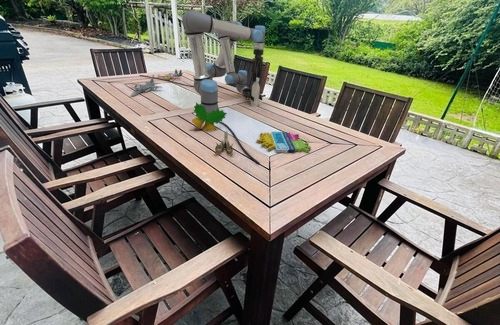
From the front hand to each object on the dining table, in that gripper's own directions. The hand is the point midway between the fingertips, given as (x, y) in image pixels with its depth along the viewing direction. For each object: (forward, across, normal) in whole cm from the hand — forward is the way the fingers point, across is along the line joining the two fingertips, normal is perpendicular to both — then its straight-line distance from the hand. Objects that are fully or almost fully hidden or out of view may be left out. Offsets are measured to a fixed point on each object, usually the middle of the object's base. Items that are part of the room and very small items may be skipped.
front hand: (256, 80), depth 205 cm
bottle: (+20, 0, 0) cm, 20 cm away
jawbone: (+20, -85, -26) cm, 91 cm away
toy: (+20, +30, +115) cm, 120 cm away
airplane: (+20, -26, +95) cm, 101 cm away
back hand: (+13, -3, -4) cm, 14 cm away
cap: (-2, 0, 0) cm, 2 cm away
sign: (+20, -57, -47) cm, 76 cm away
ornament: (+20, -64, 0) cm, 67 cm away
